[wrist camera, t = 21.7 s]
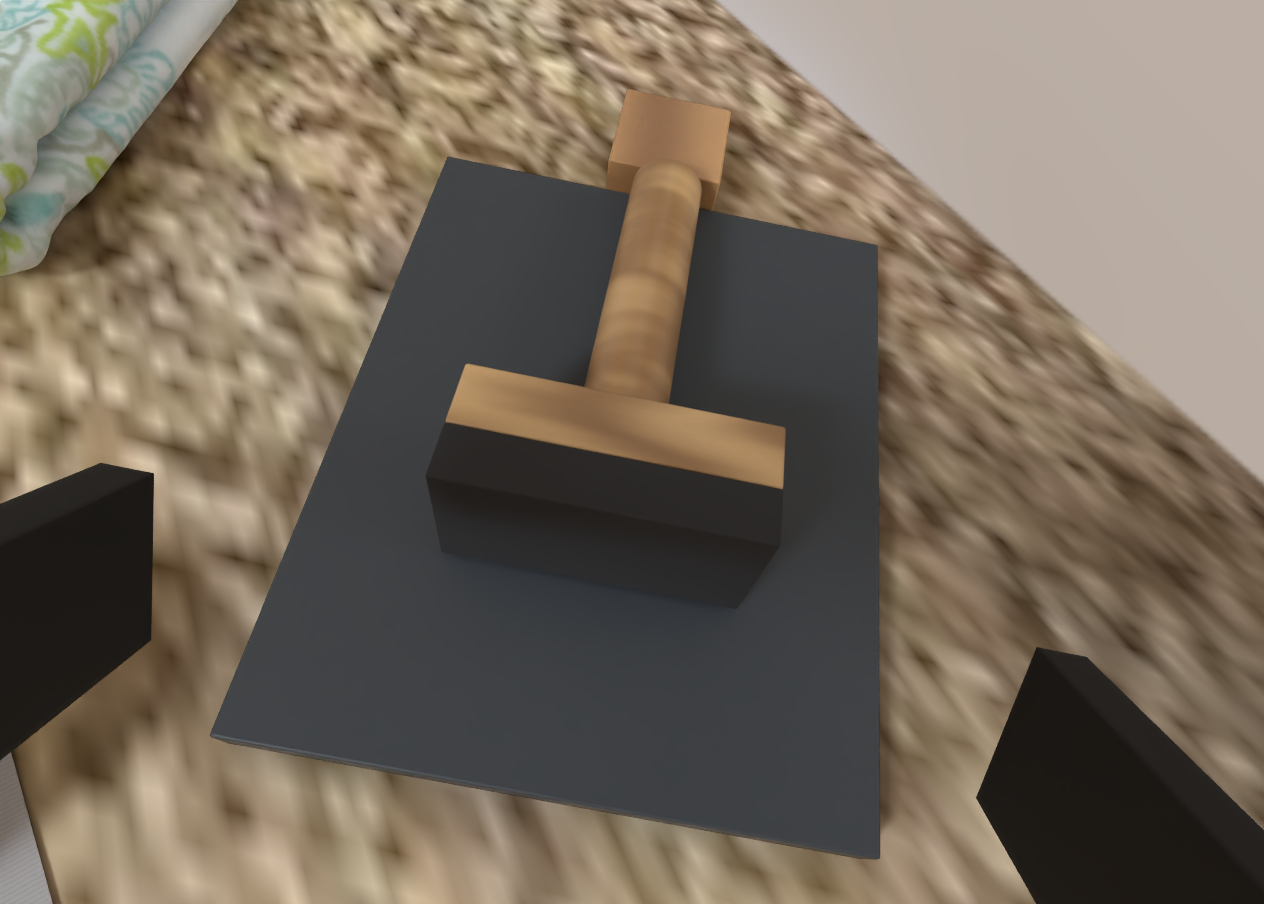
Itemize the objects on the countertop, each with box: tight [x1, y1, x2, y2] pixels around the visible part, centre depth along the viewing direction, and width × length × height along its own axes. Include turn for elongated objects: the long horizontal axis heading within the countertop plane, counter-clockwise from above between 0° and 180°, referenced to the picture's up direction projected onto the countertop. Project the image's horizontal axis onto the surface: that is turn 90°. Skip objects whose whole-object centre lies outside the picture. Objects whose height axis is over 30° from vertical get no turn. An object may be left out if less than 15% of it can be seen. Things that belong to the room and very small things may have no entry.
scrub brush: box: [425, 158, 786, 609], centre depth 22 cm, size 8×4×14 cm
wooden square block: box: [606, 89, 731, 211], centre depth 28 cm, size 4×4×2 cm
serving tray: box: [210, 157, 880, 859], centre depth 23 cm, size 16×20×1 cm
